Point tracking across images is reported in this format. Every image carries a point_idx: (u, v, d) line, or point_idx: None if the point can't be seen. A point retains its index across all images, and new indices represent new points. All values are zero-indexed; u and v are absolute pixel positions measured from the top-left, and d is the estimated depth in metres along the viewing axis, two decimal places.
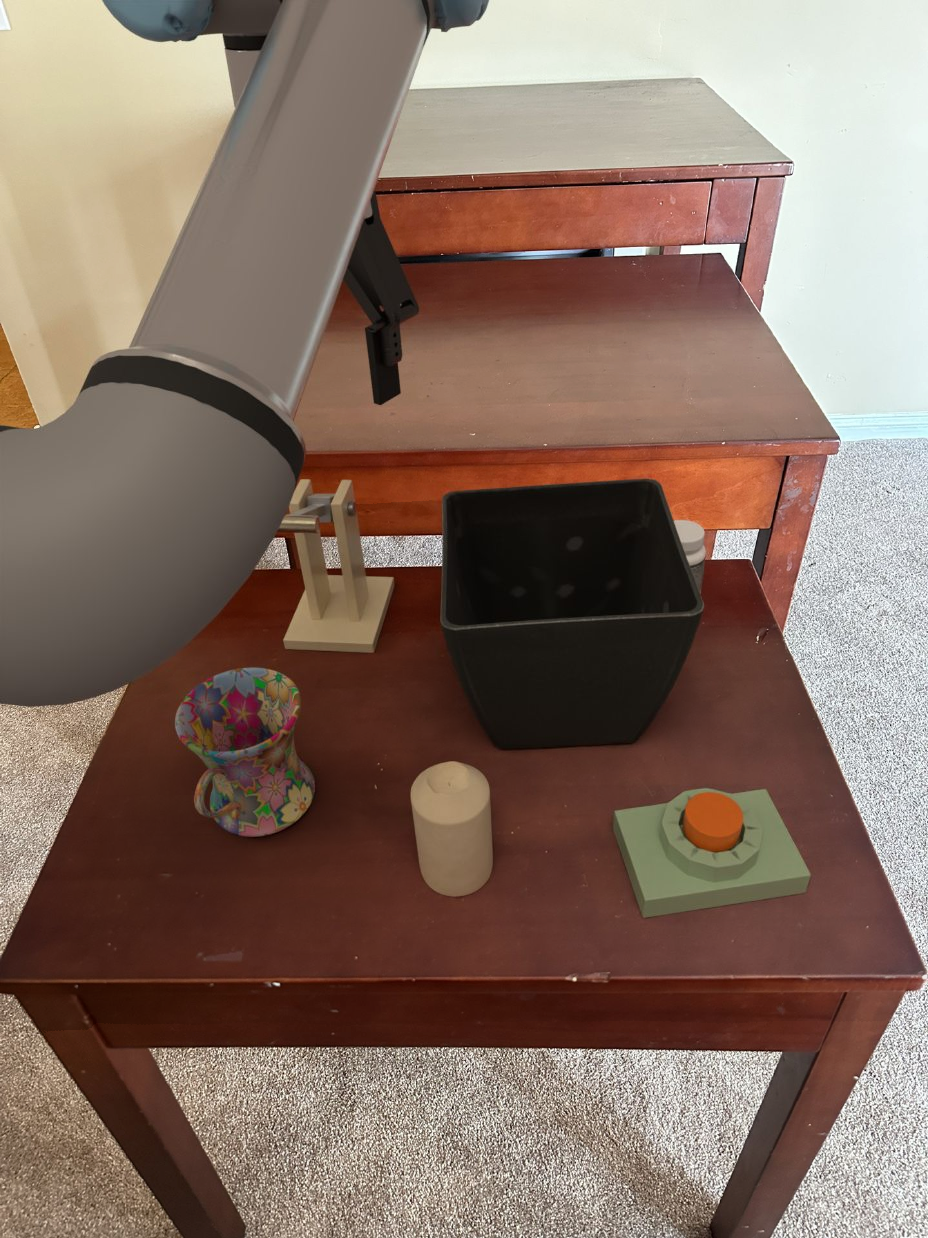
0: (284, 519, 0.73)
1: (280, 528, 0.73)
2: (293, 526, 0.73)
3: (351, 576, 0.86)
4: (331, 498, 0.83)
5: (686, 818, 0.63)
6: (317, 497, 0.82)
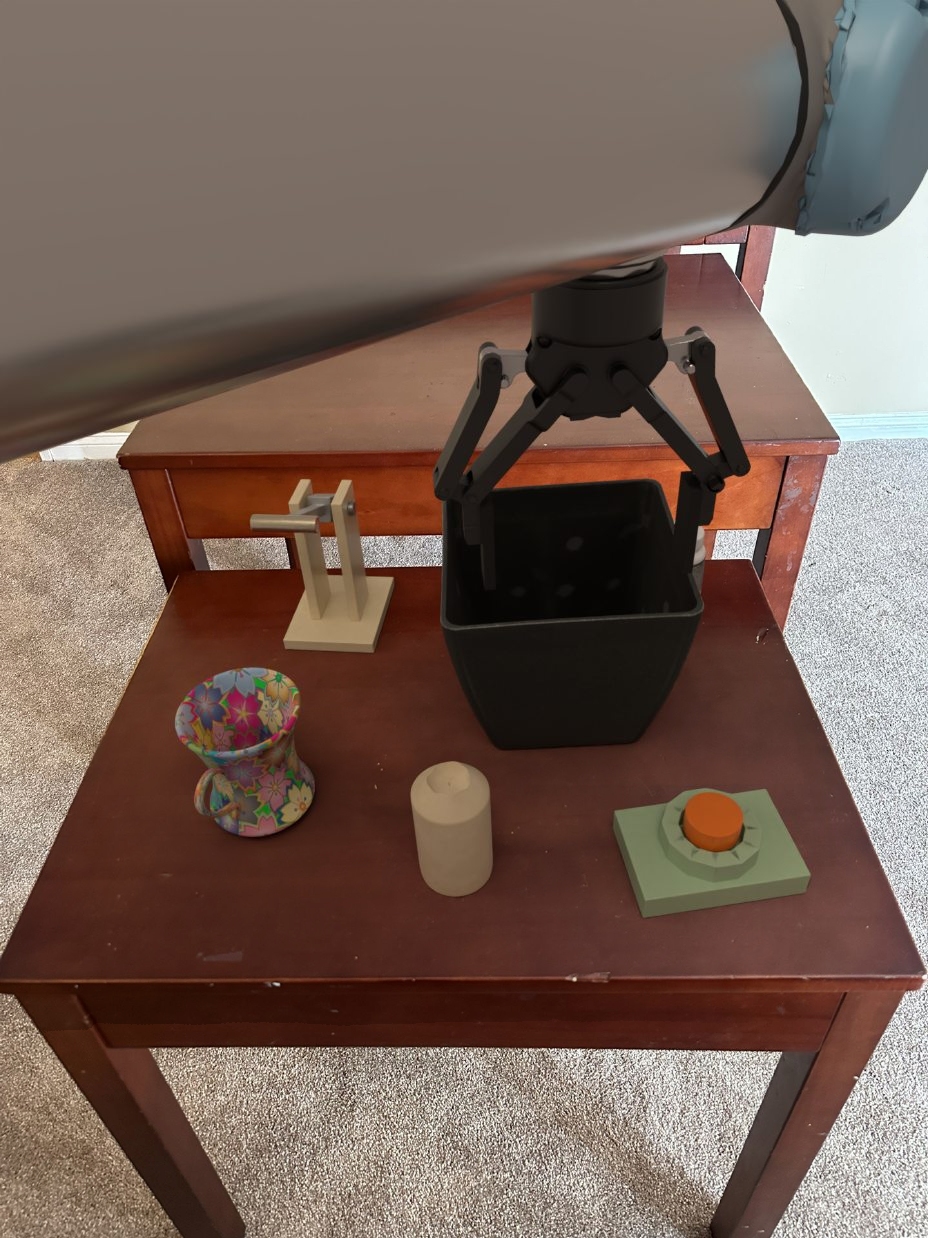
0: (284, 519, 0.73)
1: (280, 528, 0.73)
2: (293, 526, 0.73)
3: (351, 576, 0.86)
4: (331, 498, 0.83)
5: (686, 818, 0.63)
6: (317, 497, 0.82)
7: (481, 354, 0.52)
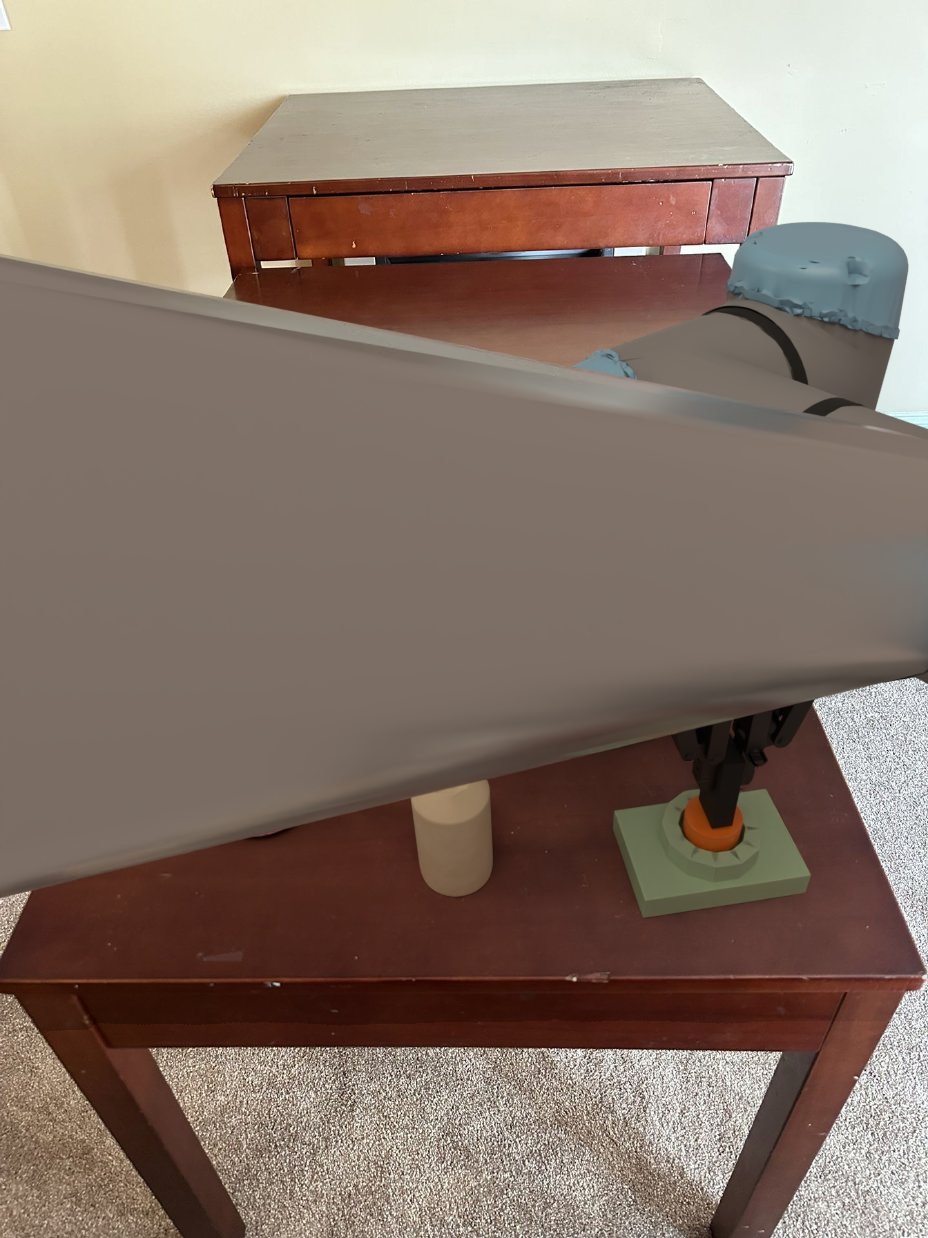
0: None
1: None
2: None
3: None
4: None
5: (686, 819, 0.64)
6: None
7: None
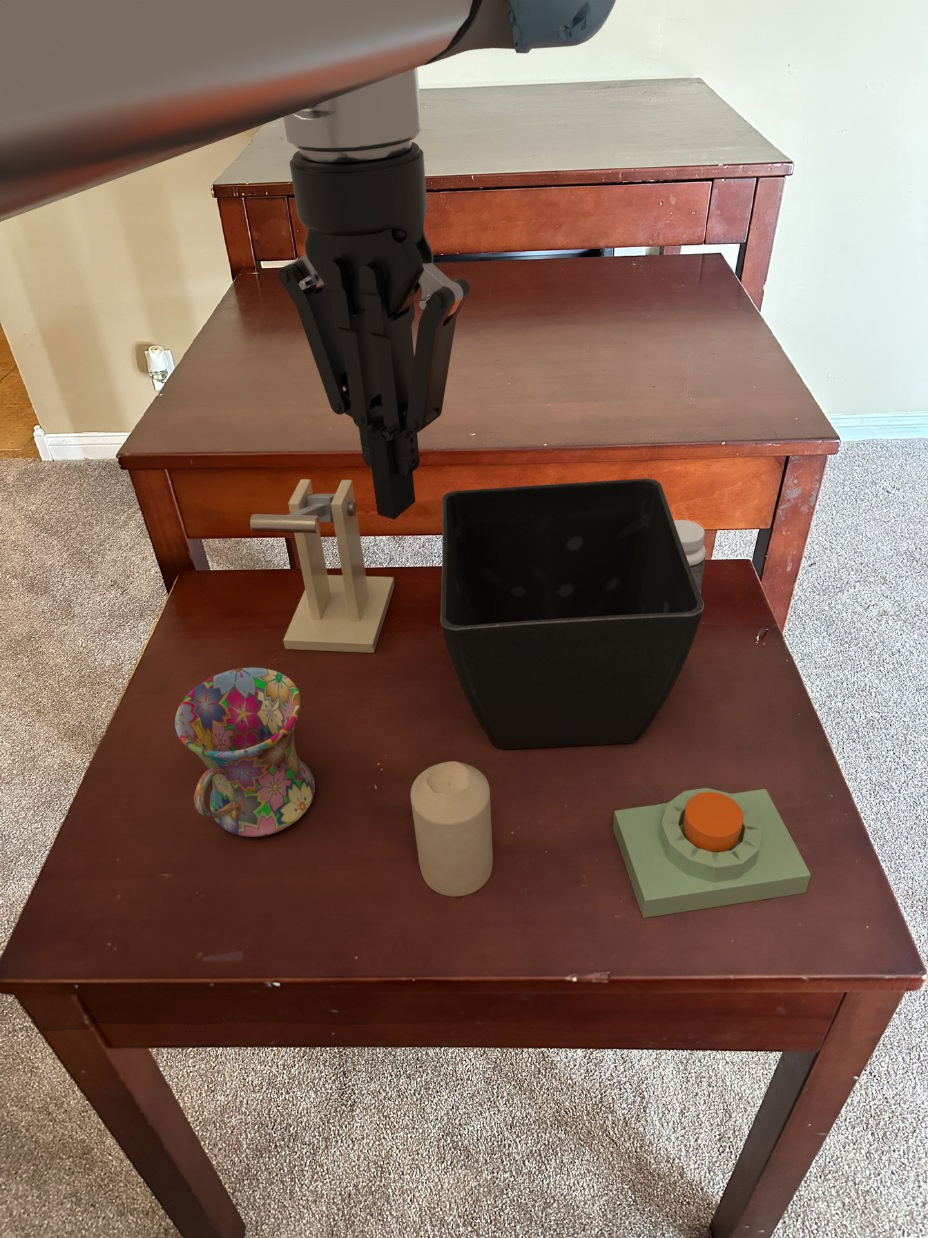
0: (284, 519, 0.73)
1: (280, 528, 0.73)
2: (293, 526, 0.73)
3: (351, 576, 0.86)
4: (331, 498, 0.83)
5: (686, 818, 0.63)
6: (317, 497, 0.82)
7: (458, 297, 0.52)
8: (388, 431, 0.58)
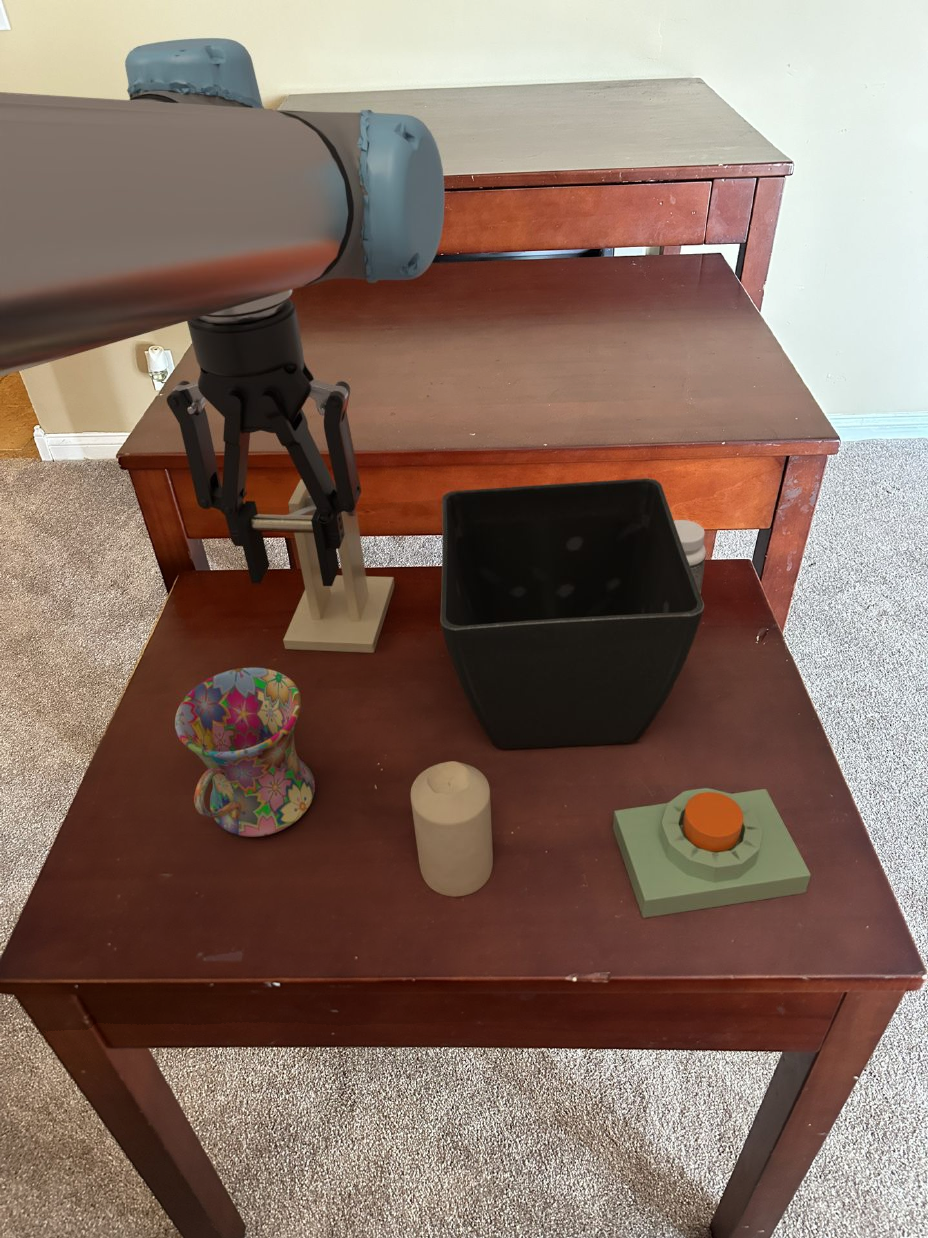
0: (284, 519, 0.73)
1: (280, 528, 0.73)
2: (293, 526, 0.73)
3: (351, 576, 0.86)
4: None
5: (686, 818, 0.63)
6: None
7: (346, 395, 0.65)
8: (325, 515, 0.70)
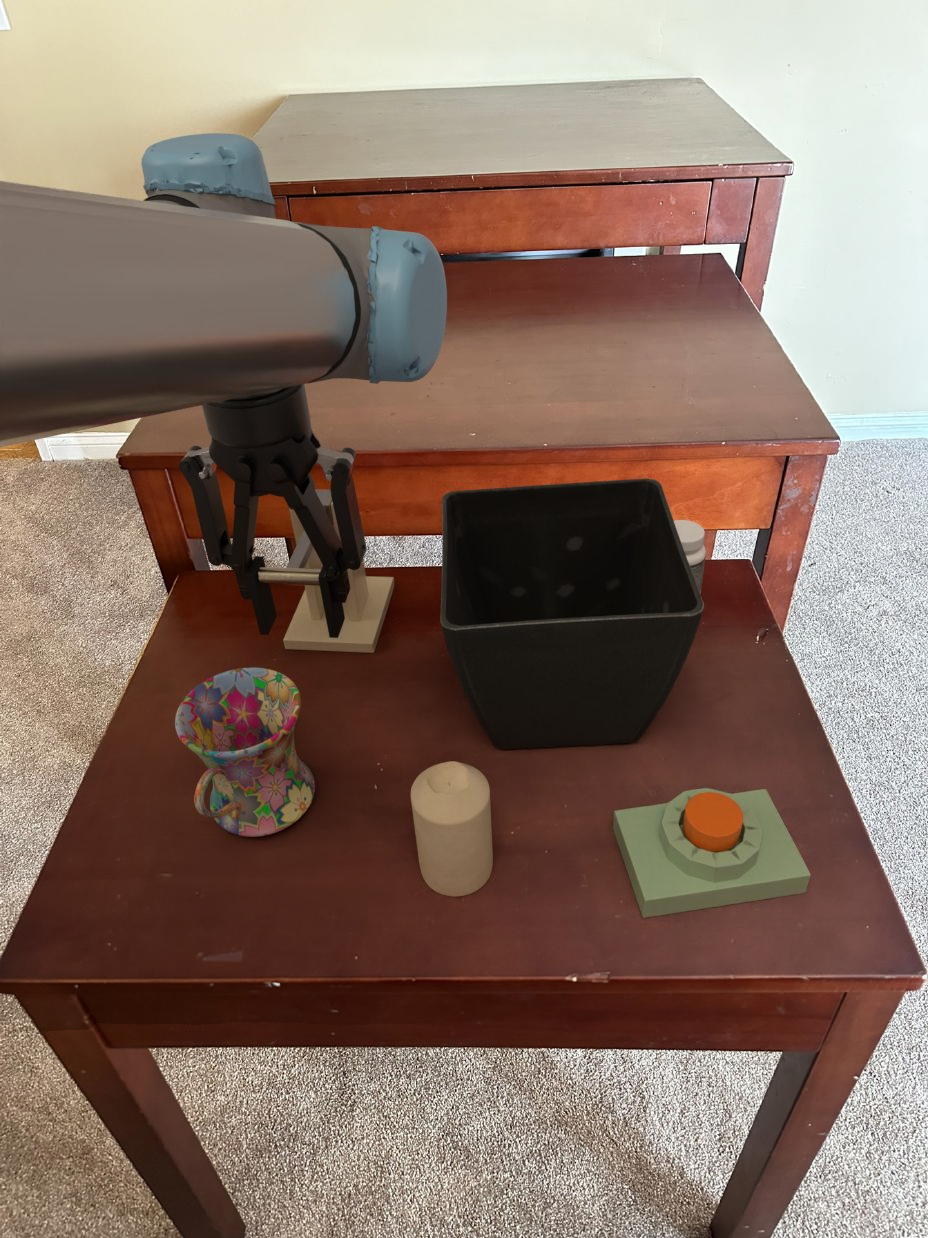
0: (290, 576, 0.75)
1: (287, 583, 0.75)
2: (299, 582, 0.75)
3: (351, 576, 0.86)
4: (330, 504, 0.82)
5: (686, 818, 0.63)
6: None
7: (352, 461, 0.68)
8: (332, 573, 0.73)
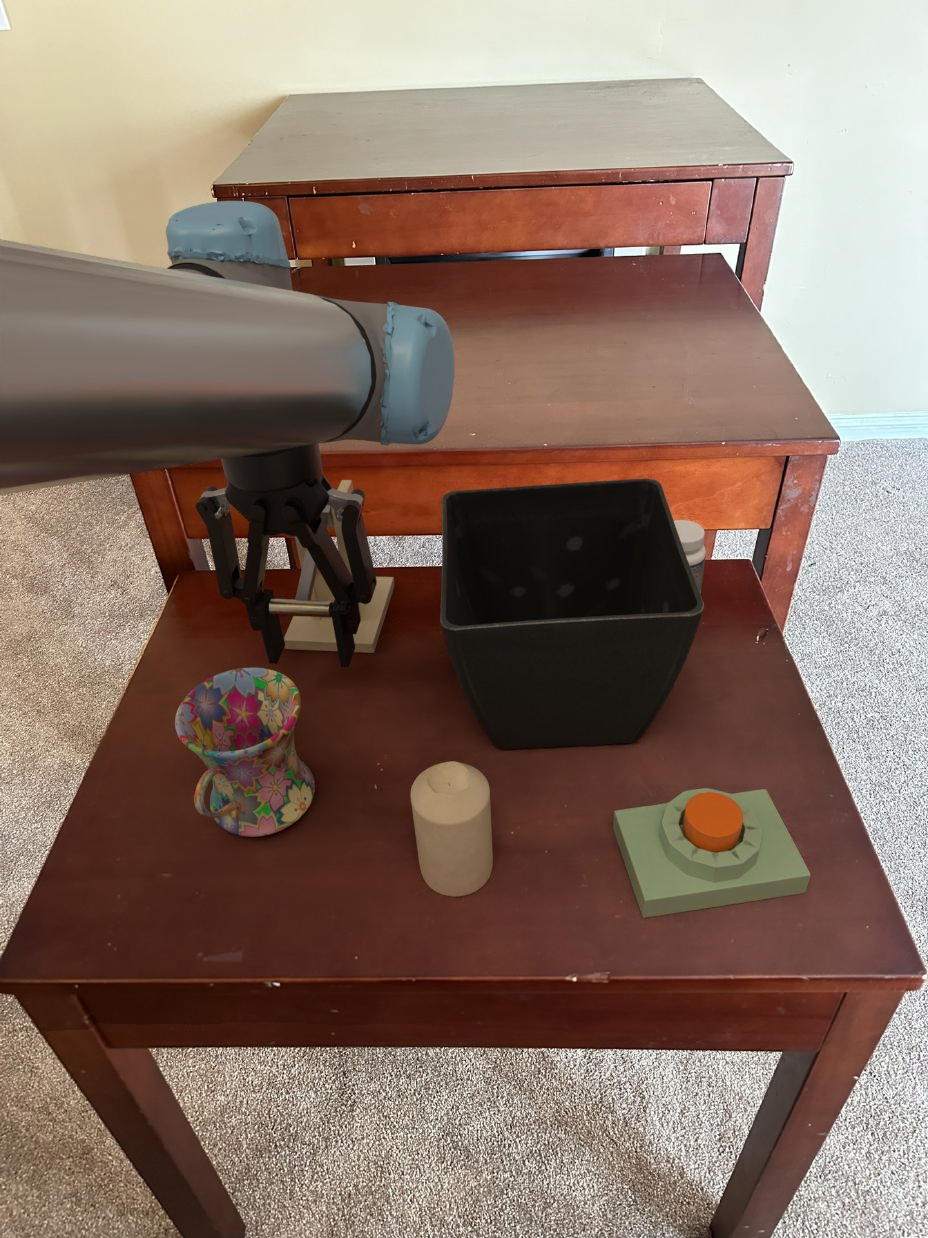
0: (300, 611, 0.78)
1: None
2: (310, 615, 0.78)
3: None
4: (330, 510, 0.82)
5: (686, 818, 0.63)
6: None
7: (361, 502, 0.71)
8: (344, 607, 0.76)
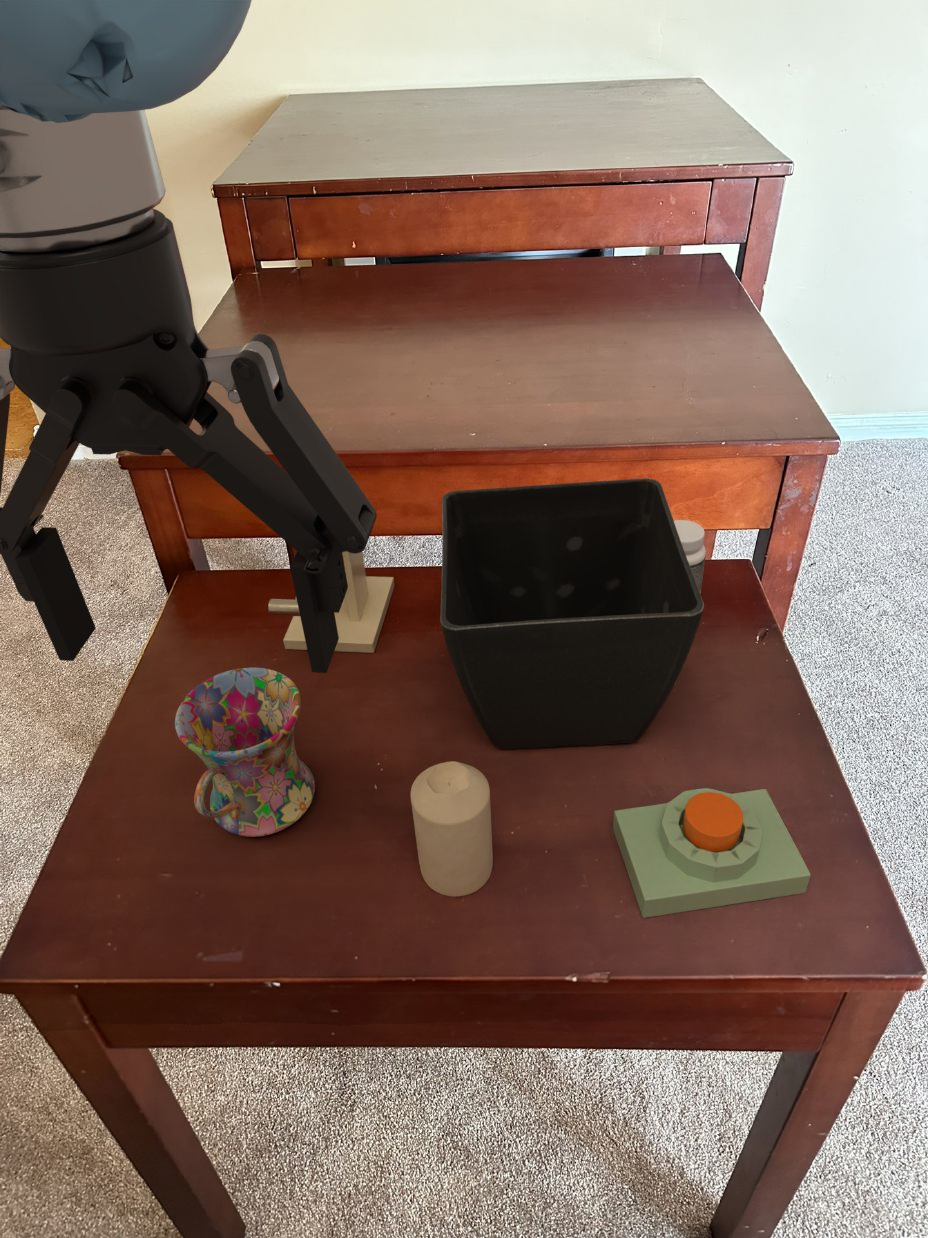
0: None
1: None
2: None
3: (351, 576, 0.86)
4: None
5: (686, 818, 0.63)
6: None
7: (264, 352, 0.36)
8: (314, 559, 0.40)
